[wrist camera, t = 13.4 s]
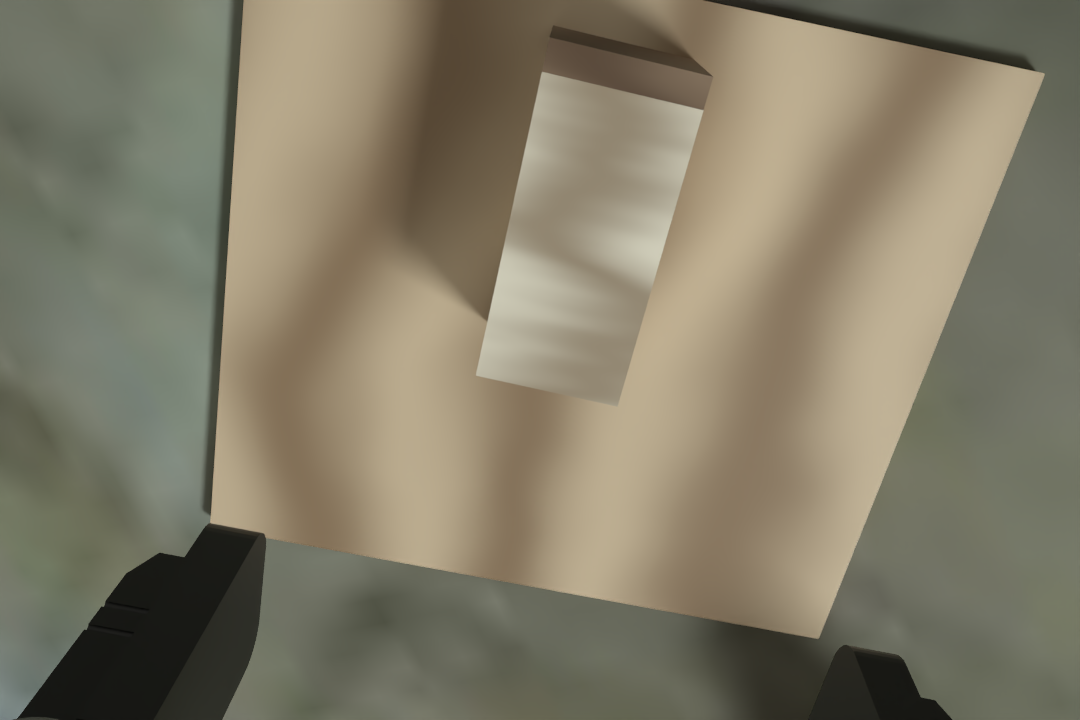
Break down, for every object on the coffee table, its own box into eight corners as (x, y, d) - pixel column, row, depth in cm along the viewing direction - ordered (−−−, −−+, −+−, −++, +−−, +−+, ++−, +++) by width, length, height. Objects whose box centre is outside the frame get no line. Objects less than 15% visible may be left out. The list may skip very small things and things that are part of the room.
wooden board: (1037, 71, 26) (1045, 73, 26) (815, 629, 34) (818, 639, 34) (255, -96, 25) (249, -97, 25) (215, 519, 33) (210, 527, 33)
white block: (612, 350, 29) (693, 59, 26) (617, 406, 26) (713, 76, 22) (488, 322, 29) (553, 25, 26) (475, 375, 26) (549, 37, 22)
